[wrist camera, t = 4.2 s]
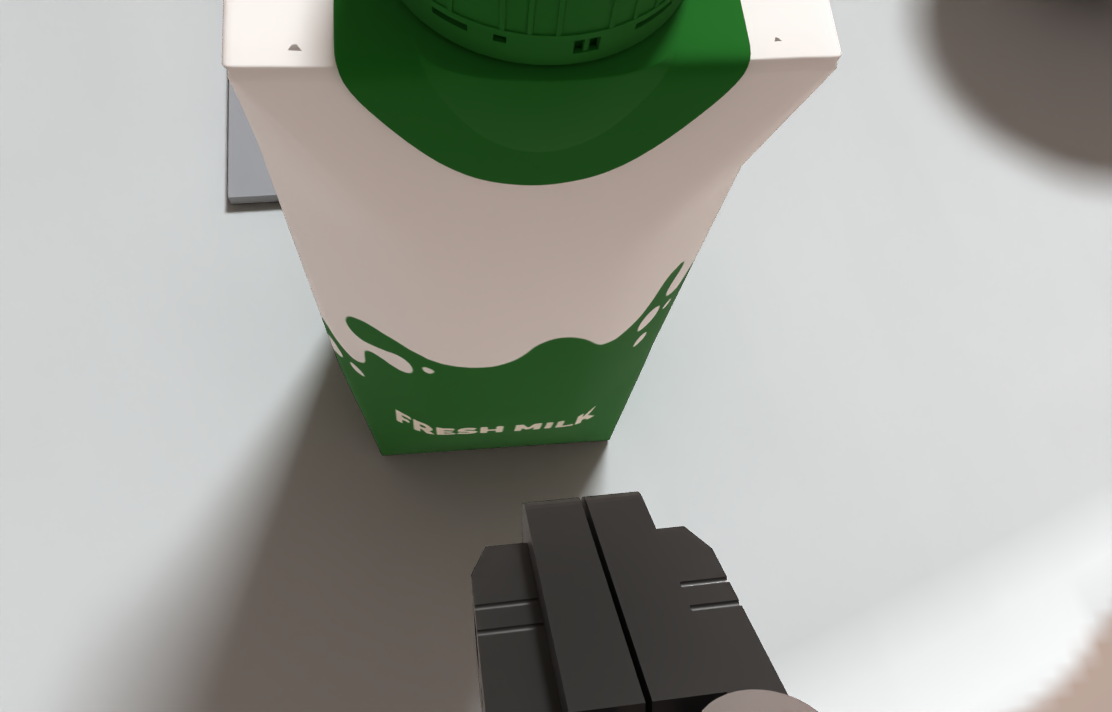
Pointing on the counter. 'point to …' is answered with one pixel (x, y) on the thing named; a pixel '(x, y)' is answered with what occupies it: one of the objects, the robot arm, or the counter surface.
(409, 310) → the milk carton
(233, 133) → the slate mat
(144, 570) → the counter surface
